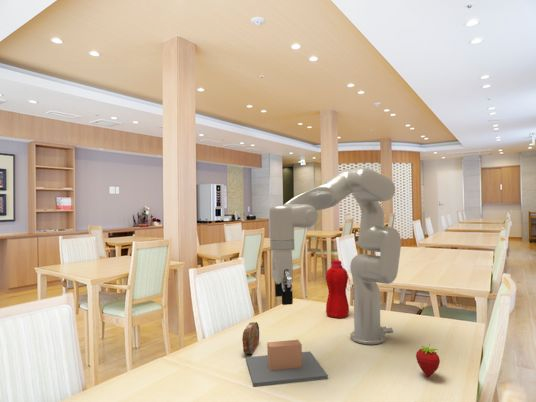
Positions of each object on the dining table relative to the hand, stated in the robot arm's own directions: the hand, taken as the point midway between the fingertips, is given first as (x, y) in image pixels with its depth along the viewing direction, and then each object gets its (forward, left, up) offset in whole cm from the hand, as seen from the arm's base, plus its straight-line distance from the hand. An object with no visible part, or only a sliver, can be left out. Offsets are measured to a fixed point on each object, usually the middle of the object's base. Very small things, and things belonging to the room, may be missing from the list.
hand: (283, 300), depth 117 cm
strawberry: (-40, +14, -22) cm, 47 cm away
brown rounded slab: (+8, -18, -22) cm, 29 cm away
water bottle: (-36, -47, -22) cm, 63 cm away
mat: (0, 0, -21) cm, 21 cm away
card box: (0, 0, -20) cm, 20 cm away
